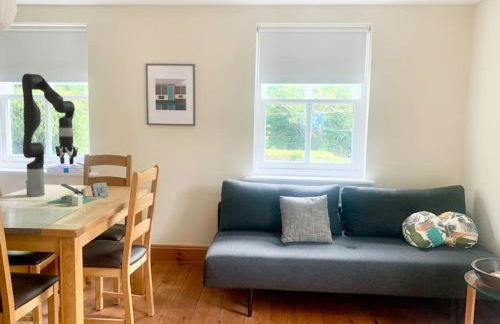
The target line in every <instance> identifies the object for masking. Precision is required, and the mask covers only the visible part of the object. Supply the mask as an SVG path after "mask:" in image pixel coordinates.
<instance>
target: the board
mask: <svg viewBox="0 0 500 324" xmlns="http://www.w3.org/2000/svg"><path fill="white" fill-rule="evenodd" d="M75 189H77V190H79V188H77V187H76V188H75ZM80 191H81V194H80V195H83V198H84V200H83V204H82V205H84V204H88V203H91V202H93V201H94V202H95V201H97V200H98V198H96V197H93V198H92V197H86V188H82V189H80ZM73 194H77V193H75V192H73ZM77 195H79V194H77ZM60 200H61V197H60V198H58V199H54V200H50V201H47V202H45V204H53V205H65V206H73V205H72V203H66V202H60ZM74 206H76V205H74Z"/></svg>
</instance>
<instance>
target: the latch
mask: <svg viewBox="0 0 500 324" xmlns="http://www.w3.org/2000/svg"><path fill="white" fill-rule="evenodd" d="M65 196H72V205H71V206H75V205H76V206H77V207H78V206H82V205H84V204H83V195H81V194H78V195H77V194H74V193H68V194H67V193H66V194H65Z"/></svg>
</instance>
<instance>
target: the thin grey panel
mask: <svg viewBox="0 0 500 324" xmlns="http://www.w3.org/2000/svg"><path fill="white" fill-rule="evenodd" d="M60 186H61V187H64V188H66V189H67V190H69V191H71V192H73V193H74V192H75V193H77V194H78V195H81V190H79V189H78V188H77V189H78V190H77V189H76V188H75V187H72V186H70V185H69V184H67V183H61V184H60Z"/></svg>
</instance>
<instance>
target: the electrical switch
mask: <svg viewBox="0 0 500 324" xmlns="http://www.w3.org/2000/svg"><path fill="white" fill-rule="evenodd" d="M90 187H91V193H92V197H93V198H96V199H100V198H101V199H102V198H107V197H109V190H108V185H107V181H106V182H97V183H91V186H90Z"/></svg>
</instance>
